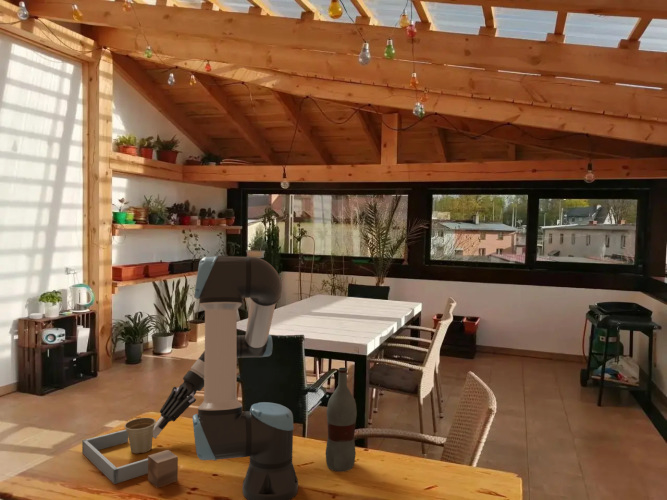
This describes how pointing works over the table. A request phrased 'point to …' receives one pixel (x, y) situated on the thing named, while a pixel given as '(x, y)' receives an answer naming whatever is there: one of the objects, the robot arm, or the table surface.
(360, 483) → the table surface
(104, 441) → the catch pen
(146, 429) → the flower pot
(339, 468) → the bottle
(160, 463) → the walnut block
